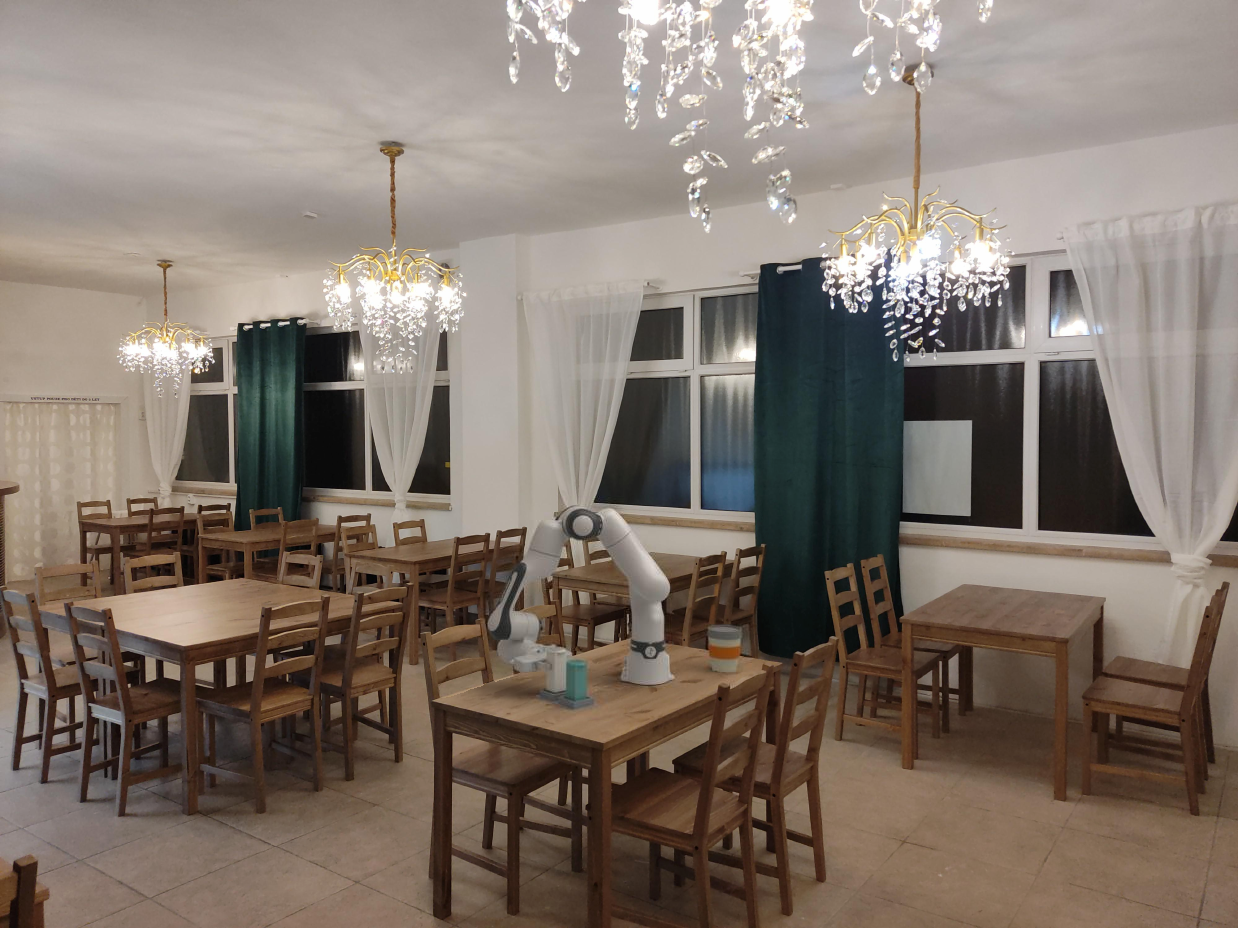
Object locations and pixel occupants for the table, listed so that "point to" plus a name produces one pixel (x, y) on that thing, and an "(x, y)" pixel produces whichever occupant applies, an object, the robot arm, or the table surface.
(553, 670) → the post
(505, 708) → the table surface
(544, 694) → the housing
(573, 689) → the teal square canister
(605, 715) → the table surface
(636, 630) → the robot arm
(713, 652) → the reusable coffee cup
